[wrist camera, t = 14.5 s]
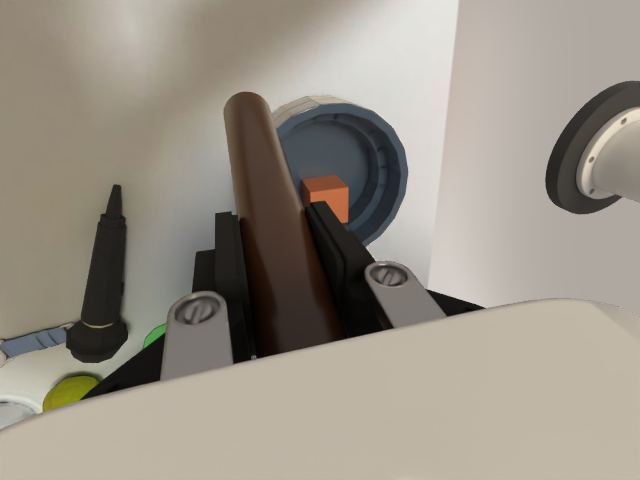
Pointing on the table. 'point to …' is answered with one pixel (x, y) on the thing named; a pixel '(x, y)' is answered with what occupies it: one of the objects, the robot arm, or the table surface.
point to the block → (327, 194)
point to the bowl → (346, 157)
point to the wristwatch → (31, 343)
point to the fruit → (68, 391)
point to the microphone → (102, 291)
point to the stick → (276, 237)
